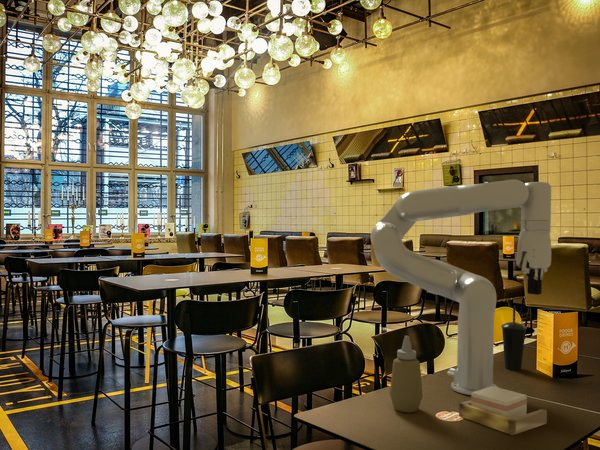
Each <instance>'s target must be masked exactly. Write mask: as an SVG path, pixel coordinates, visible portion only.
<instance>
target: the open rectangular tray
mask: <svg viewBox="0 0 600 450" xmlns="http://www.w3.org/2000/svg"><path fill="white" fill-rule="evenodd" d="M458 416H459V417H461V418H464V419H466V420H469V421H471V422H475V423H478V424H479V425H484V426H486V427H488V428H491V429H494V430H498V431H499V432H503V433H506V434H508V435H511V436H515V435H517V434H521V433H523V432H526V431H529V430H532V429H535V428H537V427H541V426H543V425H546V424H547V423H548V421H547V419H548V418H547V417H548V410H546V409H542V408H540V409H538V410H535V411H531V412H529V413H527V414H525V415H522V416H519V417H516V418H512V419H510V418H507V417H504V416H501V415H498V414H495V413H492V412H489V411H486V410H483V409H480V408H477V407H474V406H471V399H470V400H466V401H463V402H459V404H458Z"/></svg>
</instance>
